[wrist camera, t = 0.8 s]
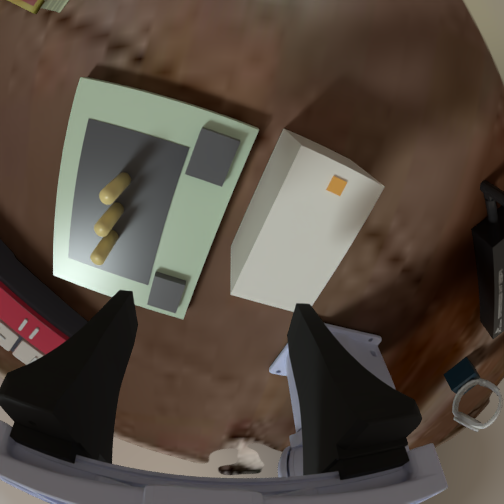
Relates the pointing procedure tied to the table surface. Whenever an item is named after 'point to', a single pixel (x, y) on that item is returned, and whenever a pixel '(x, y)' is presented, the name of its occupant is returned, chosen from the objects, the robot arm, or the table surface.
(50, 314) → the calculator
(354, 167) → the block
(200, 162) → the pcb board
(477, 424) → the watch
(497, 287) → the grey and black stand
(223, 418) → the table surface
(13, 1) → the hardcover book
